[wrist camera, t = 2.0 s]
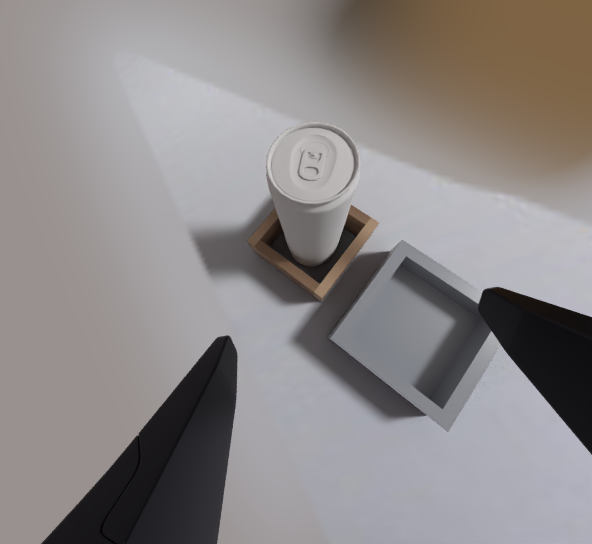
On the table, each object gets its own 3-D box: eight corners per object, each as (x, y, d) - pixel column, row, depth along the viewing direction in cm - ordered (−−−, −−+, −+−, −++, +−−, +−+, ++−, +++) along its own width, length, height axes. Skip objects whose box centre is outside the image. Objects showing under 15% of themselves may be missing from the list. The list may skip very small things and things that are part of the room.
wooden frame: (320, 301, 22) (322, 298, 19) (255, 251, 23) (246, 241, 20) (370, 235, 23) (379, 222, 20) (304, 192, 24) (303, 174, 21)
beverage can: (340, 225, 23) (369, 124, 12) (333, 272, 22) (356, 213, 11) (292, 217, 24) (274, 114, 12) (283, 263, 23) (253, 198, 11)
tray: (427, 415, 19) (448, 432, 16) (327, 336, 21) (330, 338, 18) (489, 316, 21) (519, 315, 18) (390, 250, 22) (402, 239, 20)
